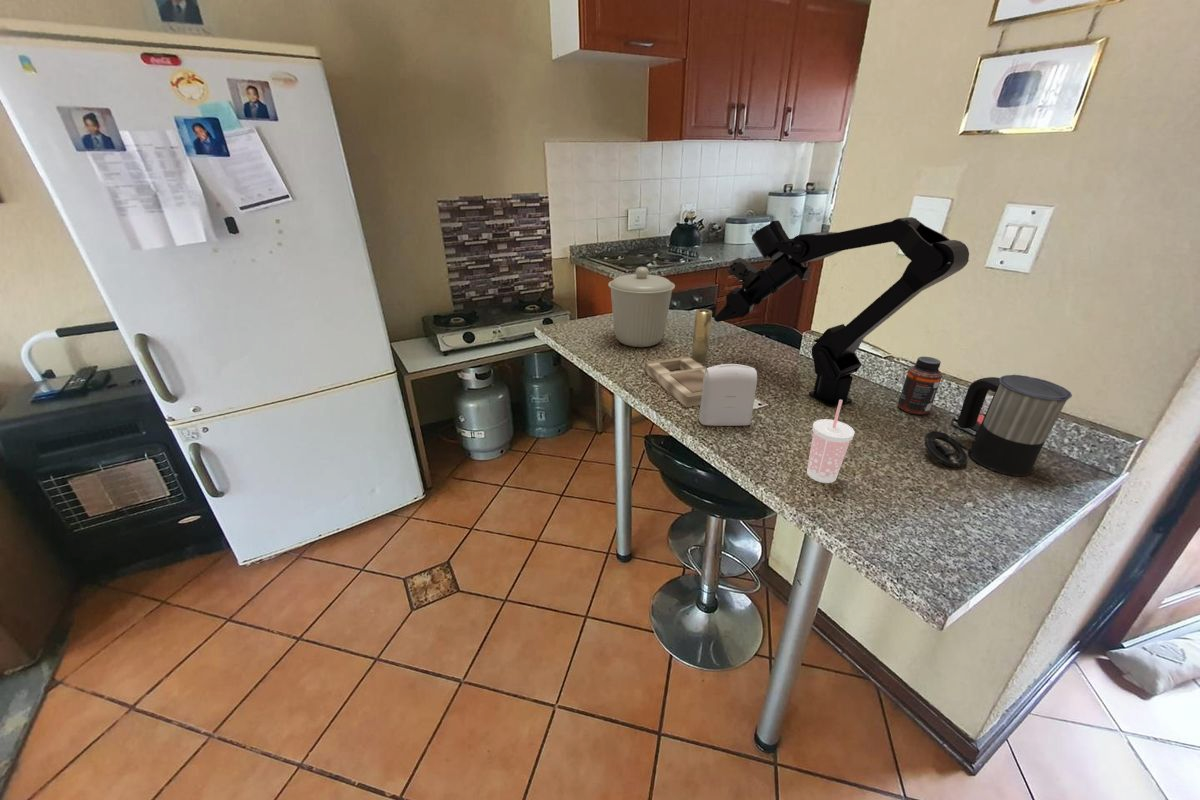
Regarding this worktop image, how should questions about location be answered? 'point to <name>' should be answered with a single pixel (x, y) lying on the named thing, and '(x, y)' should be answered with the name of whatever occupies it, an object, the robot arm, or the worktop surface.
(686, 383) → the jig plate
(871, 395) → the worktop surface
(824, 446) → the beverage cup
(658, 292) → the canister
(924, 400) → the supplement bottle
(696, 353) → the cylinder
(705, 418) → the photo printer
